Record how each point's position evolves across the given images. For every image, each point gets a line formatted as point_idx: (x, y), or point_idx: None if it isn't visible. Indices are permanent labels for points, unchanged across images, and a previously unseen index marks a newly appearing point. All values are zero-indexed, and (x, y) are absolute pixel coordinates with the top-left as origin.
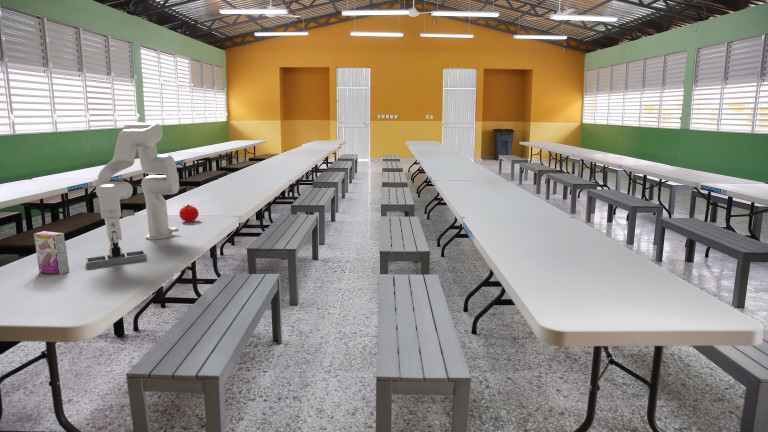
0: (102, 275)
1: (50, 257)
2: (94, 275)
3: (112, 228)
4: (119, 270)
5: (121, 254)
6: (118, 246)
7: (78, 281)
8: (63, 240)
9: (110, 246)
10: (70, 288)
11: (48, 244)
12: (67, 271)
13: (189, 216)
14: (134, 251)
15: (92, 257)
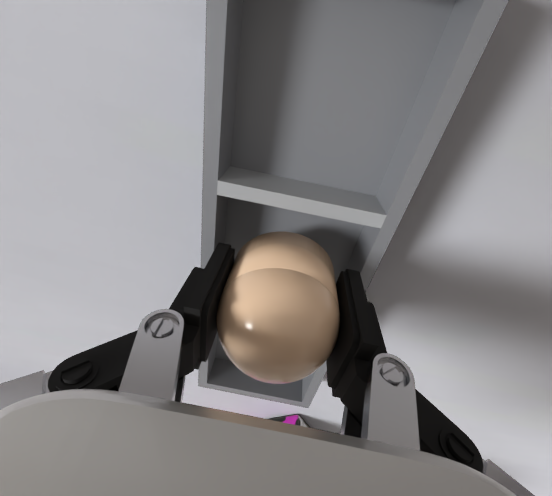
0: (512, 373)
1: None
2: (465, 388)
3: None
4: (526, 298)
5: (320, 254)
6: (408, 381)
7: (484, 433)
8: None
9: (201, 358)
10: (545, 462)
11: None
12: (303, 422)
13: None
14: (207, 67)
15: (206, 366)
